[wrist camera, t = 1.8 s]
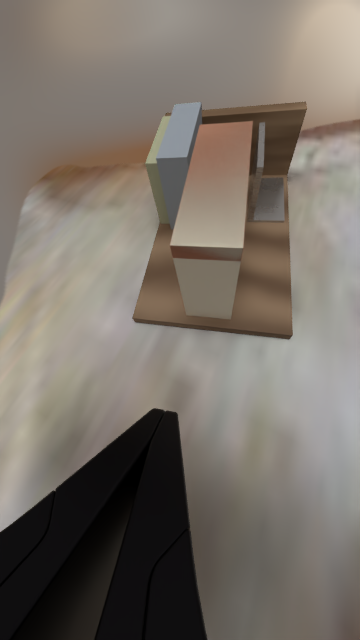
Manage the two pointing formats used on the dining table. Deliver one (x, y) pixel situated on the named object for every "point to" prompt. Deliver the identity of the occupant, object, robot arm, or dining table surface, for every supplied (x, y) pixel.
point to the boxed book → (213, 219)
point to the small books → (173, 158)
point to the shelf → (258, 251)
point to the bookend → (264, 189)
